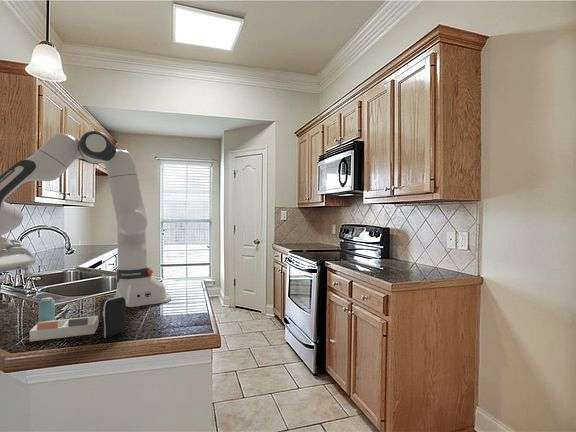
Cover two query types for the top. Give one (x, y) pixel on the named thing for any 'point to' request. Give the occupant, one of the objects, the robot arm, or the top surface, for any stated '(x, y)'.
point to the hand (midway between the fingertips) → (16, 278)
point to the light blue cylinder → (47, 309)
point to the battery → (113, 316)
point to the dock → (64, 328)
